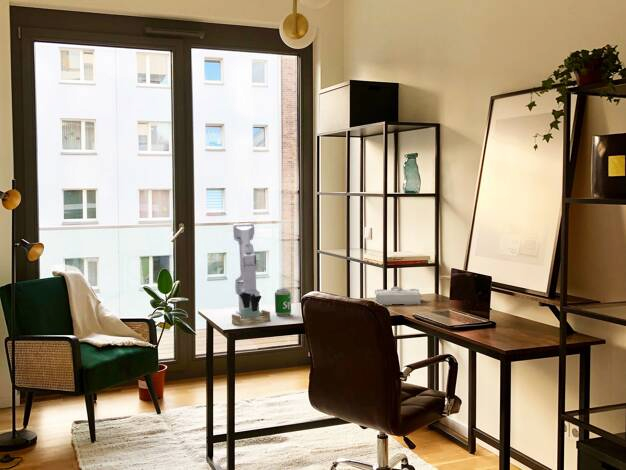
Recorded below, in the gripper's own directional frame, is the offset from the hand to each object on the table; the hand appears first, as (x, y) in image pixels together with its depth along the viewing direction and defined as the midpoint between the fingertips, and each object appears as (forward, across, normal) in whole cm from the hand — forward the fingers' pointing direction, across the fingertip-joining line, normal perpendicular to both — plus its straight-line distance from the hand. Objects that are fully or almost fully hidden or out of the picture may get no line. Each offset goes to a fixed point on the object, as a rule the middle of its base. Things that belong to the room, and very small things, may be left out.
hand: (250, 309), depth 324 cm
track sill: (+6, 0, 0) cm, 6 cm away
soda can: (+6, -5, +20) cm, 21 cm away
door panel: (+5, 0, 0) cm, 5 cm away
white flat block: (+6, +6, +84) cm, 84 cm away
